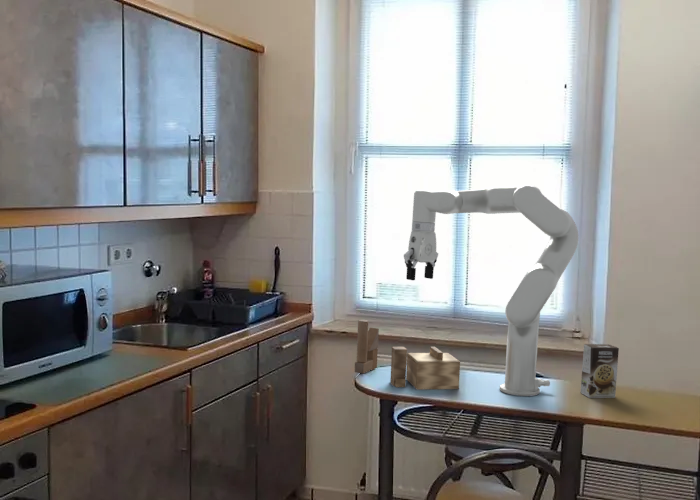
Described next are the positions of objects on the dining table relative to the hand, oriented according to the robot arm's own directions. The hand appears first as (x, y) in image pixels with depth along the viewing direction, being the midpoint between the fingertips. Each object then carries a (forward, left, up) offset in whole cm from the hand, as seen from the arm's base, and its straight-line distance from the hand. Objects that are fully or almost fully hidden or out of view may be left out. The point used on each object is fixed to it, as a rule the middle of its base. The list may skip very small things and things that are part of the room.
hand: (419, 279), depth 253 cm
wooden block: (+14, -13, -34) cm, 39 cm away
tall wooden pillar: (+8, +7, -34) cm, 35 cm away
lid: (-4, +7, -25) cm, 27 cm away
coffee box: (-54, +23, -34) cm, 68 cm away
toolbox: (-1, +7, -34) cm, 34 cm away
